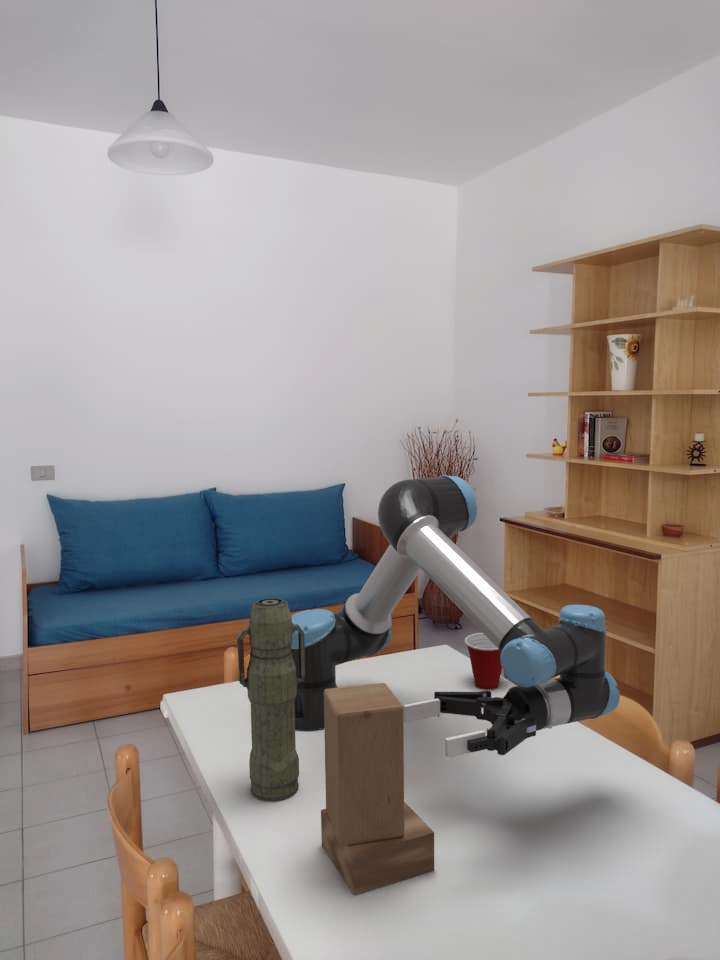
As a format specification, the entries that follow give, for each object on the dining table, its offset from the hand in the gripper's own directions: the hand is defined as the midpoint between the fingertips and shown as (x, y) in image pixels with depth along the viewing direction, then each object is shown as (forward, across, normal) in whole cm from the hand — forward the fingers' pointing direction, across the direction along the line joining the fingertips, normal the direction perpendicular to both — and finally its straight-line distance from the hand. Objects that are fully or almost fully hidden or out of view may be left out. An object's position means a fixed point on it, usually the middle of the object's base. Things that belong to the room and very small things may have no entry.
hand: (423, 730), depth 113 cm
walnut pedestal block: (+8, 0, -19) cm, 21 cm away
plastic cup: (-46, +52, -19) cm, 72 cm away
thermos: (+17, +26, -19) cm, 37 cm away
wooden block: (+10, 0, -13) cm, 17 cm away
